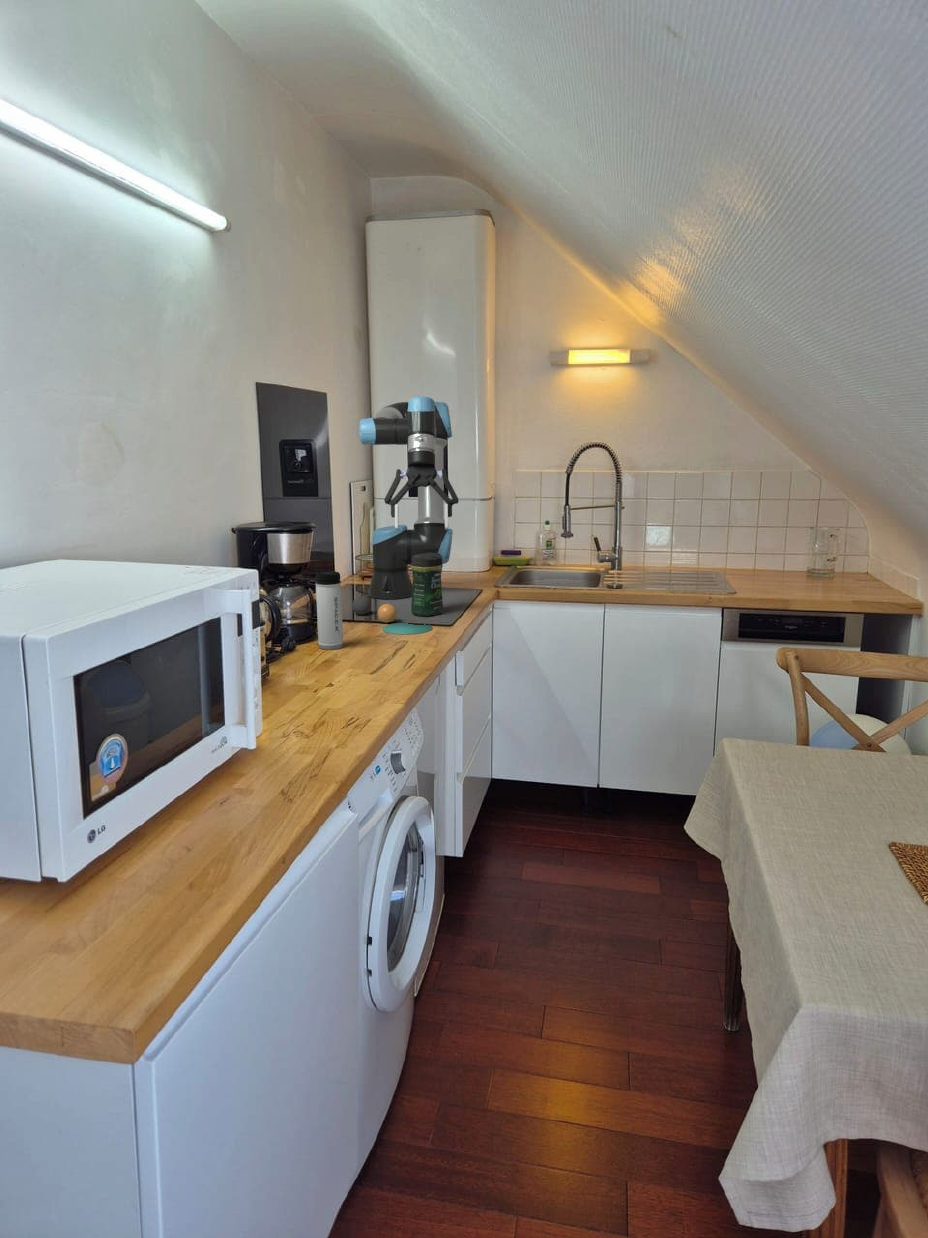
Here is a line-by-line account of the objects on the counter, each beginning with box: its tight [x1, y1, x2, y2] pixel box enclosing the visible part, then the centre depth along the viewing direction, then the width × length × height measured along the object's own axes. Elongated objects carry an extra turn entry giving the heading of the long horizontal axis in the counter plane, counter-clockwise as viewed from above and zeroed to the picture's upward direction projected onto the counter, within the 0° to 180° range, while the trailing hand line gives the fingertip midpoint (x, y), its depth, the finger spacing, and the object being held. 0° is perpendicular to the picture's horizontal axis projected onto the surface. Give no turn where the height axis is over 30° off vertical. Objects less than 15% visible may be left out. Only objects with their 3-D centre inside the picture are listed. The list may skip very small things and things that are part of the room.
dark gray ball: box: [351, 596, 371, 616], centre depth 248 cm, size 6×6×6 cm
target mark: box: [381, 622, 433, 635], centre depth 231 cm, size 14×14×1 cm
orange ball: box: [377, 603, 398, 624], centre depth 238 cm, size 6×6×6 cm
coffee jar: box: [410, 553, 444, 617], centre depth 247 cm, size 10×8×19 cm
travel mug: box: [313, 569, 344, 651], centre depth 209 cm, size 6×7×20 cm
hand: (421, 528), depth 225 cm, fingers open, 13 cm apart
